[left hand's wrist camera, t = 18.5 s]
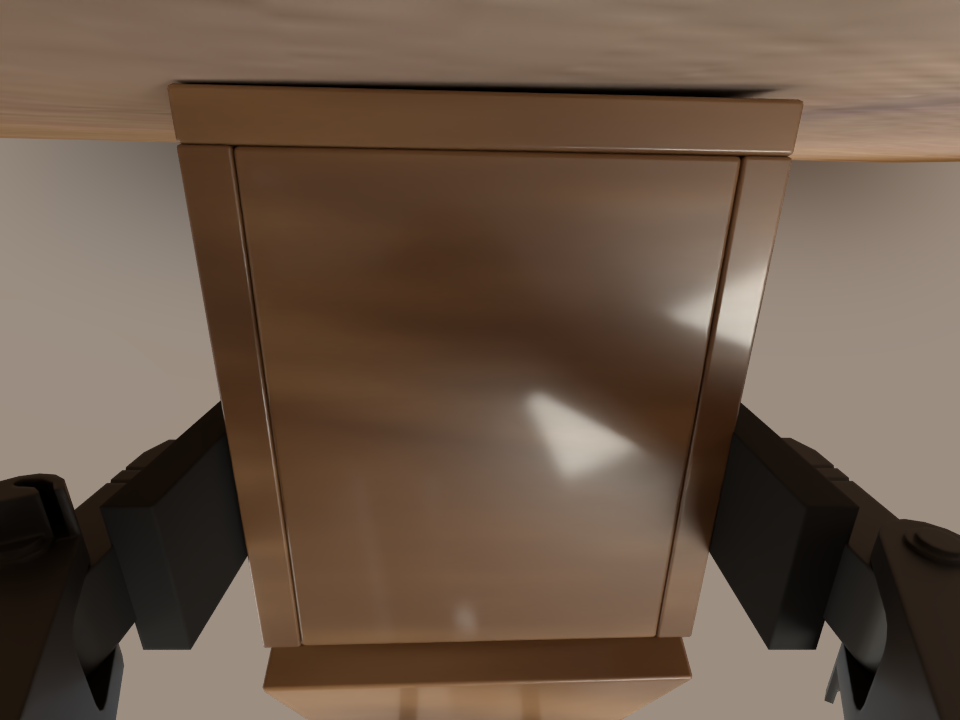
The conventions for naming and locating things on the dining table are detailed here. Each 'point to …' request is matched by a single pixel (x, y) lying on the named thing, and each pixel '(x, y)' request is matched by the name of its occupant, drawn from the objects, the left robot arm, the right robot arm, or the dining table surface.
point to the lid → (477, 679)
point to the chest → (479, 348)
